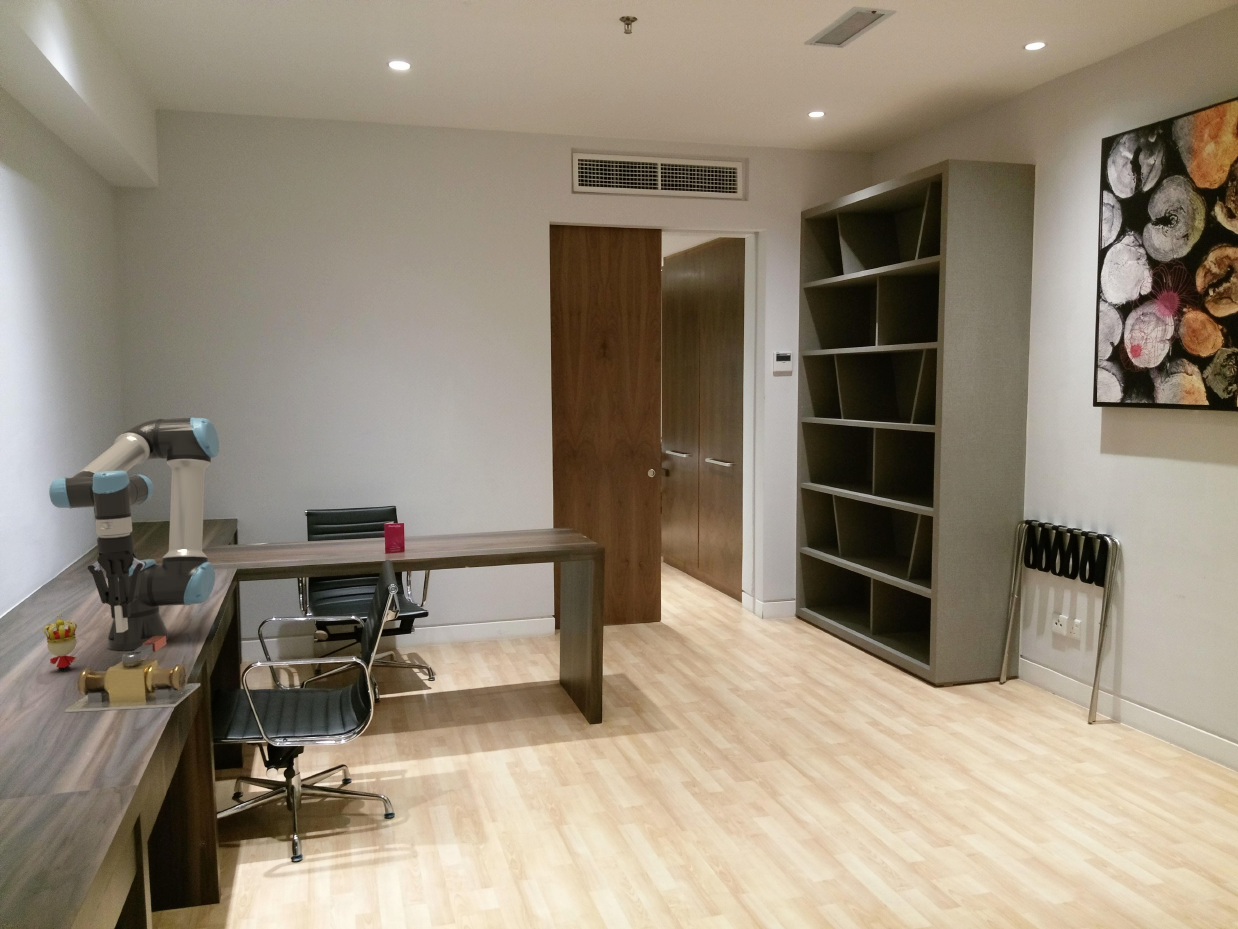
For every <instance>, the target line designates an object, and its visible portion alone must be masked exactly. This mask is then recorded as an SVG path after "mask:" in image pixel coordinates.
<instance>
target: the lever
mask: <svg viewBox="0 0 1238 929" xmlns="http://www.w3.org/2000/svg"><path fill="white" fill-rule="evenodd" d="M164 646H167V641H166V636H154V637H152V638H150V639H149V640H147V641H146V642H144V643H143V645H142V646H141V647H139V648H137V649H135V650H132V651H130V652H127V653H123V655H121V662H122V664H123V666H126V667H128V666H135V665H139V664H141V663H142V660H144V658H146V657H148V656H149V655H150V654H152V653H154V652H157V651H158V650H161V649H162V648H163V647H164Z"/></svg>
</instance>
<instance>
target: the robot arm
mask: <svg viewBox="0 0 1238 929" xmlns="http://www.w3.org/2000/svg"><path fill="white" fill-rule="evenodd" d="M219 451H220V441H219V436H218V433H217V429H216V428H215V426H214V424H213V422H212V421H211V420H210V419H209V418H203V417H193V416H192V417H185V418H155V419H150V420H147V421H144V422H141V423H139V424H136V425H134V426H131V427H130V428H128V429H127V430H125V431H124V432H122V433H121V434H120V435H118V436H117V437H116V438H115V440H114V441H113V445H112V446H111V447H109V448H108V449H106V450H105V451H104V452H103V453H101V454H100V455H99V456H98V457H96V458H95V459H93V461H91V462H90V463H89V464H87V465H86V466H84V467H83V468H82V469H81V470H80V471H79V472H77V473H76V474H74V475H73V476H72V477H66V476H65V477H61V478H55V479H54V480H52V482H51V484H50V485H49V489H48V490H49V491H48V493H49V494H48V495H49V498H50V502H51V503H52V505H53V506H54V507H56V508H58V509H70V510H71V509H77V508H78V509H80V508H82V509H83V508H94V513H95V514H94V515H95V516H94V517H95V528H96V529H95V530H96V531H95V532H96V535H97V536H98V538H96V542H97V543H96V544H97V553H98V557H97V559H96V561H95V562H94V563H93V564H92V563H91V564H90V565H88V566H87V570H88V571H89V573H90V574H91V575H92V577H93V580H94V583H95V586H96V589H97V593H98V595H99V597H100V601H101V603H102V604H106V605H109V606H110V613H111V618H112V621H111V625H110V629H109V633H108V637H107V648H108V649H109V650H113V651H134V650H136V649H137V648H139V647H141V646H142V645H143V643H144V642H146V641H147V640H149V639H150V638H152V637H154V636H166V642H167V641H168V639H169V631H168V629H167V627H166V624H165V622H164V620H163V618H162V616H161V614H160V607H161V606H162V607H163V606H164V607H165V606H184V605H185V606H191V605H195V604H196V605H201V604H203V603H204V602H206V601H207V600H209V599H210V596H211V594H212V593H213V590H214V588H215V583H216V582H215V581H216V571H215V570H216V569H215V566H214V564H213V563H211V562H209V561H208V556H207V555H206V553H205V552H204V551H203V533H204V532H203V531H204V509H205V508H204V507H205V506H204V504H205V503H204V502H205V498H204V497H205V476H206V475H205V471H206V469H207V468H208V467H209V466H211V464H212V463H211V462H212V459H213V458H215V457H217V456H218V455H219ZM156 459H157V460H159V459H160V460H161V459H164V460H165V459H166V464H167V465H168V466H169V467H170V468H171V490H170V509H169V510H170V514H169V516H170V517H169V533H168V534H169V535H168V536H169V537H168V538H169V540H168V541H169V542H168V551H167V553H166V554H165V555H163V556H162V560H161V561H162V562H161V563H162V564H157V561H156V559H154V558H153V559H151V558H148V559H142V560H139V559H137V556H136V554H135V553H134V548H135V547H134V536H133V535H132V534H131V533H132V532H133V523H132V510H131V509H132V508H131V507H132V506H133V507H134V506H137V505H138V506H140V505H141V504H144V503H145V502H148V501H149V500H150V499H151V498H152V497H153V494H154V488H155V487H154V483H153V482H152V480H151V479H150V478H149V477H148V476H145V475H143V474H136V473H135V474H129V473H128V471H129V470H131V469H132V468H133V467H134V466H136V465H140V464H143V463H145V462H146V461H147V460H156ZM103 570H104V571H105V573H104V572H103ZM104 574H105V575H104ZM106 578H107V580H106Z"/></svg>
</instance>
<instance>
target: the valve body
mask: <svg viewBox="0 0 1238 929" xmlns="http://www.w3.org/2000/svg"><path fill="white" fill-rule="evenodd" d="M188 678H189V672H188V667H187V665H186V664H184V663H178V664H176V665H175V666H173V667H168V668H164V667H163V668H162V667H161V665H159V664H158V659H142V663H141V664H139V665H135V666H128V667H126V666H123V664H122V661H119V662H118V663H117V664H116V665H113V666H110V667H108V668H107V670H105V671H104V670H103V671H96V670H95V669H94V668H92V667H91V668H84V669H82V670H81V671H80V673H79V676H78V679H77V688H78V690H77V691H78V693H79V694H80V695H81V696H83V697H82V698H80V699H79V700H77V701H76V702H75V703H73V704H71V705H70V706H68V707H66V708H65V709H64V712H65V713H75V712H76V713H77V712H79V713H80V712H93V711H94V712H96V711H99V712H100V711H116V710H119V711H120V710H137V709H153V708H154V709H156V708H174V707H175V708H176V707H177V706H178V705H179V704H180V703H181V702H182V701H184V700H185V699H186V698H187V697H189V696H190V695H191V694H192V693H194V691H196V690H197V689H198V688H199V687H201V683H200V682H195V683H188Z"/></svg>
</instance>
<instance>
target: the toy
mask: <svg viewBox="0 0 1238 929" xmlns="http://www.w3.org/2000/svg"><path fill="white" fill-rule="evenodd" d="M56 617H58V619H57V621H56V622H55V623H52V622H51V623H49V624H47V625H46V626H44V628H43V633H44V635H45V636H46V643H47V649H48V651H49V653H51V655H54V656H55V657H51V658H49V659H50V660H49V663H50V664H52V665H56V666H55V667H56V668H58V669H57V672H58V673H60V672H69V671H71V670H72V669H71V667H70V666H71V665H72V663H76V662H77V660H78V659H77V657H76V656H70V654H72V652H74V650H75V649H76V645H77V640H76V630H77V628H78V625H77V623H76V622H75V621H71V620H66V621H64V620H63V619H61V617H63V615H61V613H58V615H56ZM66 626H67V628H65V627H66ZM54 629H56V630H54ZM46 631H47V632H46ZM56 663H57V664H56Z"/></svg>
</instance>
